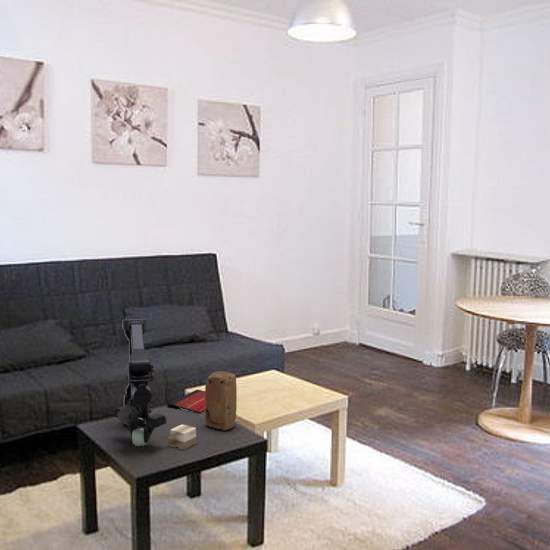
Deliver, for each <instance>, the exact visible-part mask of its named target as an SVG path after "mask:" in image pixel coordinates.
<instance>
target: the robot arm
mask: <svg viewBox="0 0 550 550" xmlns="http://www.w3.org/2000/svg"><path fill="white" fill-rule="evenodd" d="M147 320H148V319H147V318H144V317H143V315H135V316H132V315H131V316H130V315H129V316H125V319H122V320H121V324H122V330H123V332H124V336H125V338H126V339H127V341H128V356H129V357H128V358H129V359H128V361H129V362H127V376H128V377H127V378H128V384H127V386H126V387H125V393H124V394H123V402H122V403H123V405H122V406H119V407H116V409H115V410H114V414H113V415H114V418H117V419H118V421H119V423H123V424H125V425H124V426H126V425H128V426H127V427H128V430H129V432H130V435H131V436H132V431H133V430H134V429H138V428H139V427H138V426H141V427H140V428H143V429H144V443H147V442H148V443H149V440H150V438H151V435H152V434H153V431H154V430H155V429H156V428H159V427H161V426H164V425H166V424H167V416H165V415H164V414H161V413H154V414H152V409H151V408H150V402H151V401H152V397H153V395H152V392H151V389H150V386H149V383H150V382H151V383H152V382H153V381H154V379H155V370H154V364H153V362H152V361H150V355H149V354H148V353H147V352H146V351H145V341H144V335H145V330H147V328H148V325H147V323H148V321H147ZM150 414H152V415H150Z"/></svg>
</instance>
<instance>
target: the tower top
mask: <svg viewBox="0 0 550 550" xmlns="http://www.w3.org/2000/svg"><path fill="white" fill-rule="evenodd" d="M196 436H197V428H196V427H194V426H190V425H187V424H183V423H182V424H180V425H177V426H176V427H173V428H171V429H170V436H169V437H170V438H171V439H175V440H178V441H182V442H186V441H188V440H190V439H192V438H194V437H196Z"/></svg>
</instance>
